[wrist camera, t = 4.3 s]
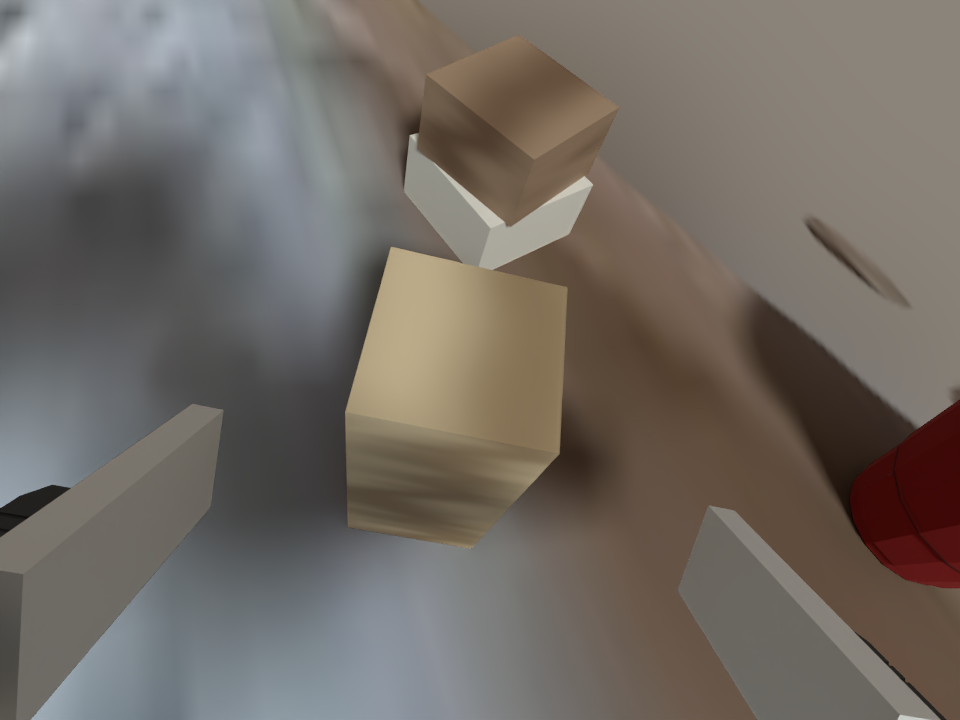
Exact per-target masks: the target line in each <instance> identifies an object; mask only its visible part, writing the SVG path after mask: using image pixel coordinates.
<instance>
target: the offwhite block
mask: <svg viewBox="0 0 960 720" xmlns="http://www.w3.org/2000/svg"><path fill="white" fill-rule="evenodd" d="M418 137H419V133H416V134H413V135H410V138H409V147H408V156H407V165H406V175H405V184H404V192H405V193H406V195H407V196H408V197H409V198H410V199H411V201H412V202H413V203H414V204H415V205H416V207H417V208H418V209H419V210H420V212H421V213H422V214H423V215H424V216H425V218H426V219H427V220H428V221H429V222H430V224H431V225H432V226H433V227H434V229H435V230H436V231H437V232H438V233H439V235H440V236H441V237H442V238H443V239H444V241H445V242H446V243H447V244H448V246H449V247H450V248H451V249H452V250H453V252H454V253H455V254H456V255H457V256H458V258H459V259H460V260H461V261H462V263H464V264H468V265H472V266H477V267H481V268H485V269H490V270H493V269H495V268H497V267H500V266H502V265H504V264H506V263H508V262H510V261H512V260H515V259H517V258H519V257H521V256H523V255H525V254H527V253H529V252H532V251H534V250H536V249H538V248H540V247H542V246H544V245H547V244H549V243H551V242H553V241H555V240H557V239H559V238H562V237H564V236H566V235H568V234H569V233H570V231H571V229H572V227H573V225H574V223H575V221H576V219H577V217H578V215H579V213H580V211H581V209H582V207H583V205H584V203H585V200H586V198H587V196H588V194H589V192H590V190H591V188H592V186H593V184H592V183H591V182H590V181H589V180H588V179H587V178H586V177H585V176H584V177H583V178H581V179H580V180H578V181H577V182H575V183H574V184H572V185H571V186H569V187H568V188H567V189H565V190H564V191H562V192H561V193H559V194H558V195H556V196H555V197H554V198H552V199H551V200H549V201H548V202H546V203H545V204H543V205H542V206H540V207H539V208H538V209H536V210H535V211H533V212H532V213H530V214H529V215H527V216H526V217H524V218H523V219H522V220H520V221H519V222H517V223H516V224H514V225H513V226H511V227H510V226H509V225H508V224H506V223H505V222H504V221H503V220H502V219H500V218H499V217H498V216H497V215H496V214H494V213H493V212H492V211H491V210H490V209H489V208H487V207H486V206H485V205H484V204H483V203H481V202H480V201H479V200H478V199H477V198H475V197H474V196H473V195H472V194H471V193H469V192H468V191H467V190H466V189H465V188H463V187H462V186H461V185H460V184H459V183H457V182H456V181H455V180H454V179H453V178H452V177H450V176H449V175H448V174H447V173H446V172H444V171H443V170H442V169H441V168H440V167H438V166H437V165H436V164H435V163H434V162H432V161H431V160H430V159H429V158H428V157H426V156H425V155H424V154H423V153H422V152H421V151H419V150H418V149H417V145H418Z"/></svg>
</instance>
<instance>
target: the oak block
mask: <svg viewBox="0 0 960 720" xmlns="http://www.w3.org/2000/svg"><path fill="white" fill-rule="evenodd" d="M566 306H567V287H563V286H559V285H554V284H550V283H546V282H541V281H537V280H533V279H528V278H524V277H520V276H515V275H511V274H507V273H503V272H498V271H494V270H490V269H485V268H481V267H477V266H472V265H468V264H464V263H459V262H455V261H451V260H446V259H442V258H438V257H433V256H429V255H425V254H420V253H416V252H412V251H407V250H403V249H399V248H394V247H391V249H390V253H389V256H388V260H387V263H386V267H385V271H384V274H383V278H382V281H381V285H380V289H379V292H378V296H377V299H376V303H375V307H374V310H373V314H372V317H371V321H370V325H369V328H368V332H367V335H366V339H365V343H364V346H363V350H362V353H361V357H360V360H359V364H358V368H357V371H356V375H355V378H354V382H353V386H352V389H351V393H350V396H349V400H348V404H347V407H346V411H345V426H346V473H347V520H348V527H349V528H355V529H360V530H366V531H372V532H378V533H384V534H389V535H395V536H401V537H407V538H413V539H418V540H424V541H430V542H436V543H442V544H447V545H453V546H459V547H465V548H471V549H472V547H473V546H474V545H475V544H476V543H477V542H478V541H479V540H480V539H481V538H482V537H483V536H484V535H485V533H486V532H487V531H488V530H489V529H490V528H491V527H492V526H493V525H494V524H495V523H496V522H497V521H498V519H499V518H500V517H501V516H502V515H503V514H504V513H505V512H506V511H507V510H508V509H509V508H510V507H511V505H512V504H513V503H514V502H515V501H516V500H517V499H518V498H519V497H520V496H521V495H522V494H523V493H524V492H525V490H526V489H527V488H528V487H529V486H530V485H531V484H532V483H533V482H534V481H535V480H536V479H537V478H538V476H539V475H540V474H541V473H542V472H543V471H544V470H545V469H546V468H547V467H548V466H549V465H550V464H551V462H552V461H553V460H554V459H555V458H556V457H557V456H558V455H559V454H560V433H561V412H562V391H563V370H564V348H565V327H566Z"/></svg>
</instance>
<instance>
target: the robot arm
mask: <svg viewBox="0 0 960 720" xmlns="http://www.w3.org/2000/svg"><path fill="white" fill-rule="evenodd" d="M223 412H224V410H222V409H217V408H212V407H207V406H201V405H196V404H191V405H190V406H189V407H187V408H186V409H184V410H183V411H181V412H180V413H178V414H177V415H176V416H174V417H173V418H171V419H170V420H168V421H167V422H166V423H164V424H163V425H161V426H160V427H158V428H157V429H155V430H154V431H153V432H151V433H150V434H148V435H147V436H145V437H144V438H143V439H141V440H140V441H138V442H137V443H135V444H134V445H132V446H131V447H130V448H128V449H127V450H125V451H124V452H122V453H121V454H120V455H118V456H117V457H115V458H114V459H112V460H111V461H110V462H108V463H107V464H105V465H104V466H102V467H101V468H99V469H98V470H97V471H95V472H94V473H92V474H91V475H89V476H88V477H87V478H85V479H84V480H82V481H81V482H79V483H78V484H76V485H75V486H74V487H72V488H67V487H62V486H56V485H50V486H47V487H44V488H42V489H39V490H36V491H33V492H30V493H27V494H24V495H21V496H19V497H18V498H16V499H14V500H13V501H11V502H10V503H8V504H6V505H5V506H3V507H2V508H0V720H31V719H32V717H33V716H34V715H35V714H36V713H37V712H38V710H39V709H40V708H41V707H42V706H43V704H44V703H45V702H46V701H47V700H48V699H49V697H50V696H51V695H52V694H53V693H54V691H55V690H56V689H57V688H58V687H59V686H60V684H61V683H62V682H63V681H64V680H65V678H66V677H67V676H68V675H69V674H70V673H71V671H72V670H73V669H74V668H75V667H76V666H77V664H78V663H79V662H80V661H81V660H82V658H83V657H84V656H85V655H86V654H87V653H88V651H89V650H90V649H91V648H92V647H93V645H94V644H95V643H96V642H97V641H98V640H99V638H100V637H101V636H102V635H103V634H104V632H105V631H106V630H107V629H108V628H109V627H110V625H111V624H112V623H113V622H114V621H115V620H116V618H117V617H118V616H119V615H120V614H121V612H122V611H123V610H124V609H125V608H126V607H127V605H128V604H129V603H130V602H131V601H132V599H133V598H134V597H135V596H136V595H137V594H138V592H139V591H140V590H141V589H142V588H143V586H144V585H145V584H146V583H147V582H148V581H149V579H150V578H151V577H152V576H153V575H154V574H155V572H156V571H157V570H158V569H159V568H160V566H161V565H162V564H163V563H164V562H165V561H166V559H167V558H168V557H169V556H170V555H171V553H172V552H173V551H174V550H175V549H176V548H177V546H178V545H179V544H180V543H181V542H182V540H183V539H184V538H185V537H186V536H187V535H188V533H189V532H190V531H191V530H192V529H193V528H194V526H195V525H196V524H197V523H198V522H199V520H200V519H201V518H202V517H203V516H204V515H205V513H206V512H207V511H208V510H209V509H210V507H211V501H212V494H213V487H214V479H215V472H216V464H217V457H218V449H219V442H220V435H221V427H222V420H223ZM678 592H679V594H680V595H681V597H682V599H683V600H684V602H685V603H686V605H687V607H688V608H689V610H690V612H691V613H692V615H693V616H694V618H695V620H696V621H697V623H698V625H699V626H700V628H701V629H702V631H703V633H704V634H705V636H706V637H707V639H708V641H709V642H710V644H711V646H712V647H713V649H714V650H715V652H716V654H717V655H718V657H719V658H720V660H721V662H722V663H723V665H724V667H725V668H726V670H727V671H728V673H729V675H730V676H731V678H732V680H733V681H734V683H735V684H736V686H737V688H738V689H739V691H740V692H741V694H742V696H743V697H744V699H745V701H746V702H747V704H748V705H749V707H750V709H751V710H752V712H753V713H754V715H755V717H756V718H757V720H946V719H945V718H944V717H943V716H942V715H941V714H940V713H939V712H938V711H937V710H936V709H935V708H934V707H933V706H932V705H931V704H930V703H929V702H928V701H927V700H926V699H925V698H924V697H923V696H922V695H921V694H920V693H919V692H918V691H917V690H916V689H915V688H914V687H913V686H912V685H911V684H910V683H907V682H905V678H904V677H903V676H902V675H901V674H900V673H899V672H898V671H897V670H896V669H895V668H894V667H893V666H889V662H888V661H887V660H886V659H885V658H884V657H883V656H882V655H881V654H880V653H879V652H878V651H877V650H876V649H875V648H874V647H873V646H872V645H871V644H870V643H869V642H868V641H867V640H865V639H864V638H862V637H861V636H860V635H858V634H857V633H856V632H854V631H853V630H852V629H851V628H850V627H849V626H848V625H847V624H846V623H845V622H844V621H843V620H842V619H841V618H840V617H839V616H838V615H837V614H836V613H835V612H834V611H833V610H832V609H831V608H830V607H829V606H828V605H827V604H826V603H825V602H824V601H823V600H822V599H821V598H820V597H819V596H818V595H817V594H816V593H815V592H814V591H813V590H812V589H811V588H810V587H809V586H808V585H807V584H806V583H805V582H804V581H803V580H802V579H801V578H800V577H799V576H798V575H797V574H796V573H795V572H794V571H793V570H792V569H791V568H790V567H789V566H788V565H787V564H786V563H785V562H784V561H783V560H782V559H781V558H780V557H779V556H778V555H777V554H776V553H775V551H774V550H773V549H772V548H771V547H770V546H769V545H768V544H767V543H766V542H765V541H764V540H763V539H762V538H761V537H760V536H759V535H758V534H757V533H756V532H755V531H754V530H753V529H752V528H751V527H750V526H749V525H748V524H747V523H746V522H745V521H744V520H743V519H742V518H741V517H740V516H739V515H738V514H737V513H736V512H735V511H734V510H729V509H724V508H718V507H713V506H708V508H707V511H706V514H705V517H704V519H703V522H702V525H701V528H700V530H699V533H698V536H697V539H696V541H695V544H694V547H693V549H692V552H691V555H690V558H689V560H688V563H687V566H686V569H685V571H684V574H683V577H682V580H681V582H680V585H679V588H678Z"/></svg>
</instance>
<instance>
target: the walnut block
mask: <svg viewBox="0 0 960 720" xmlns="http://www.w3.org/2000/svg"><path fill="white" fill-rule="evenodd" d="M618 109H619V107H618V106H617V105H615V104H614V103H612V102H611V101H610V100H608V99H607V98H606V97H604V96H603V95H601V94H600V93H599V92H597V91H596V90H595V89H593V88H592V87H590V86H589V85H588V84H586V83H585V82H583V81H582V80H581V79H579V78H578V77H577V76H575V75H574V74H573V73H571V72H570V71H568V70H567V69H566V68H564V67H563V66H562V65H560V64H559V63H557V62H556V61H555V60H553V59H552V58H550V57H549V56H548V55H546V54H545V53H544V52H542V51H541V50H540V49H538V48H537V47H536V46H534V45H533V44H531V43H530V42H529V41H527V40H526V39H524V38H523V37H522V36H520V35H517V36H515V37H513V38H510V39H508V40H506V41H503V42H501V43H499V44H496V45H494V46H492V47H490V48H487V49H485V50H482V51H480V52H478V53H475V54H473V55H470V56H468V57H466V58H463V59H461V60H459V61H456V62H454V63H452V64H449V65H447V66H445V67H442V68H440V69H438V70H435V71H433V72H431V73H428V74H426V80H425V88H424V97H423V105H422V113H421V121H420V129H419V137H418V145H417V149H418V150H419V151H421V152H422V153H423V154H424V155H425V156H426V157H428V158H429V159H430V160H431V161H432V162H434V163H435V164H436V165H437V166H438V167H440V168H441V169H442V170H443V171H444V172H446V173H447V174H448V175H449V176H450V177H452V178H453V179H454V180H455V181H456V182H457V183H459V184H460V185H461V186H462V187H463V188H465V189H466V190H467V191H468V192H469V193H471V194H472V195H473V196H474V197H475V198H477V199H478V200H479V201H480V202H481V203H483V204H484V205H485V206H486V207H487V208H489V209H490V210H491V211H492V212H493V213H494V214H496V215H497V216H498V217H499V218H500V219H502V220H503V221H504V222H505V223H506V224H508V225H509V226H510V227H511V226H513V225H514V224H516V223H517V222H519V221H520V220H522V219H523V218H524V217H526V216H527V215H529V214H530V213H532V212H533V211H535V210H536V209H538V208H539V207H540V206H542V205H543V204H545V203H546V202H548V201H549V200H551V199H552V198H554V197H555V196H556V195H558V194H559V193H561V192H562V191H564V190H565V189H567V188H568V187H569V186H571V185H572V184H574V183H575V182H577V181H578V180H580V179H581V178H583V177H584V176H585V175H587V174H588V173H589V171H590V169H591V167H592V165H593V163H594V160H595V158H596V156H597V154H598V152H599V150H600V147H601V145H602V143H603V141H604V139H605V137H606V135H607V133H608V130H609V128H610V126H611V124H612V122H613V120H614V118H615V115H616V113H617V111H618Z"/></svg>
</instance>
